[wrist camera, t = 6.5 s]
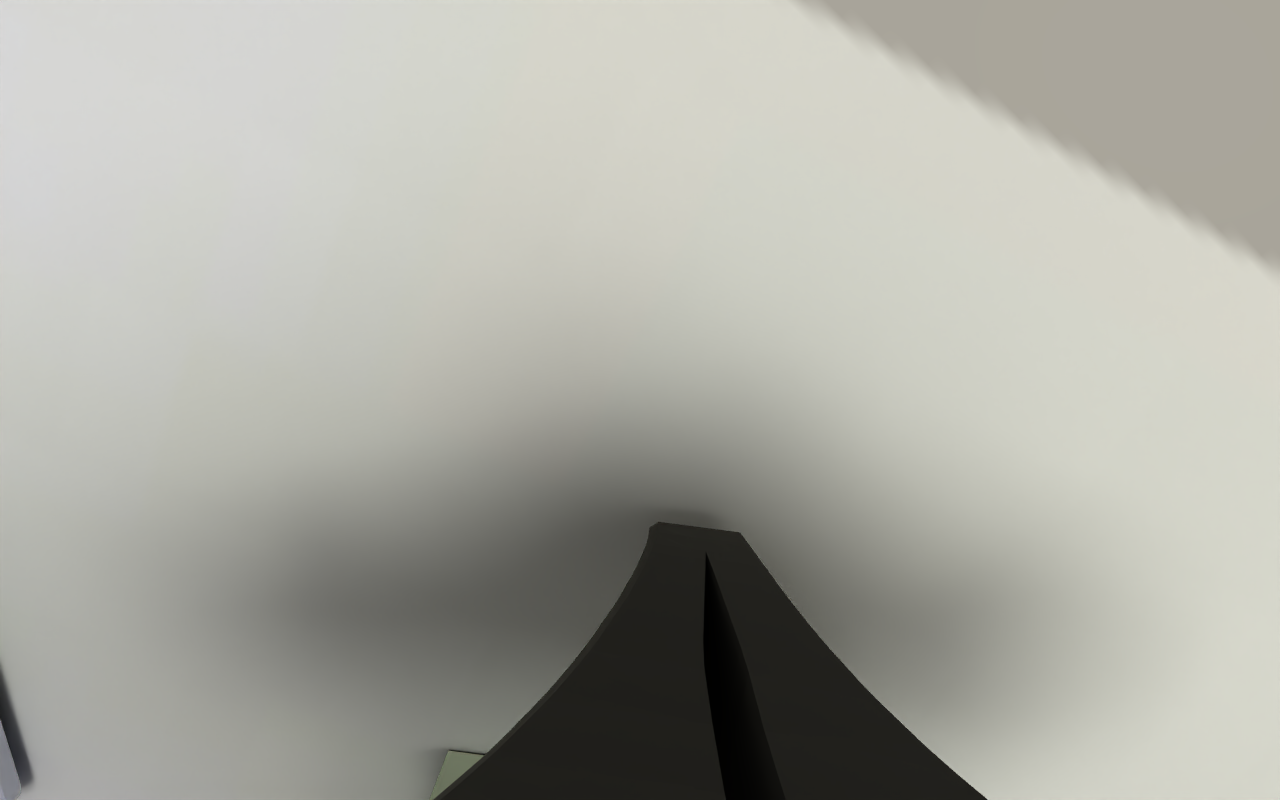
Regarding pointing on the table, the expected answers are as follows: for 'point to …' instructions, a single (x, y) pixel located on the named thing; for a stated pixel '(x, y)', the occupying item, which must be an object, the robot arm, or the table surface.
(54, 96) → the table surface
